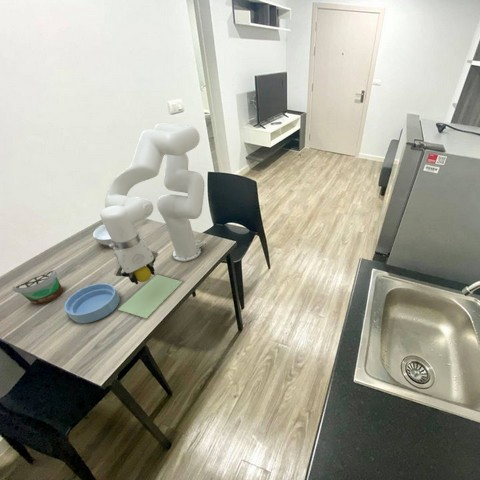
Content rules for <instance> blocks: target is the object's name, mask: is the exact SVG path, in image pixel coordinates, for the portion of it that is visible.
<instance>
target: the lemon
mask: <svg viewBox="0 0 480 480" xmlns="http://www.w3.org/2000/svg"><path fill="white" fill-rule="evenodd" d="M133 275H134V276H135V277H136V279H137V281H138V283H147V282H149V281H150V280H151V277H152V274H151V271H150V269H149V268H148V267H147V266H146V265H145V266H143V267H141V268H139V269H137V270H135V271H133Z"/></svg>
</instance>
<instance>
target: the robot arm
mask: <svg viewBox="0 0 480 480" xmlns="http://www.w3.org/2000/svg"><path fill="white" fill-rule="evenodd" d="M200 139H201V137H200V133H199V131H198V129H197V128H196V127H194V126H193V125H189V124H181V123H173V122H158V123H157V124H155V126H154V128H153V129H152V128H150V129H145V130H143V131H142V132H141V134H140V136H139V139H138V142H137V145H136V148H135V151H134V154H133V157H132V160H131V163H130V165H129V166H128V167H127V168H125V169H124V170H122V171H121V172H120V173H119V174H118V175H116V176H115V178H114V179H113V180H111V183H110V184H109V186H108V189H107V192H106V195H105V199H104V207H105V208H103V209H102V210H101V211H100V213H99V217H100V219H101V222H102V223H103V224H104V225H105V227H106V229H107V231H108V233H109V235H110V237H111V239H112V240H111V241H112V243H111V244H109V246H108V247H109V248H110V249H113V253H114V257H115V260H116V263H117V266H116V268H115V270H114V273H113V274H114V276H116V277H125V278H128V279H129V281H130V283H132V284H133V283H134V284H135V285H138V284H139V281H137V279H136V277H135V276H134V275H133V271H135V270H137V269H139V268H141V267H143V266H147V267H148V268H149V269H150V271H151V276H156V275H155V274H156V273H155V271H156V269H155V267H154V265H155V264H154V263H155V262H156V261H157V258H158V256H159V253H158V252H157V251H153V250H151V248H150V247H149V245H148V244H147V242H146V240H145V239H144V238H143V237H140V234H139V232H138V230H137V227H136V225H135V224H137V223H139V222H141V221H143V220H146V219H147V218H149V217H150V216H151V215H153V212H154V204H153V202H152V201H151V200H150V199H148V198H145V197H140V196H133V195H128V194H129V191H131V189H132V188H133V187H135V186H136V185H137V184H140V183H142V182H145V181H149V180H151V179H154V178H156V177H158V175H159V173H160V170H161V168H162V167H161V166H162V163H163V161H164V157H165V165H164V176H163V185H164V187H165V188H166V190H168V191H171V192H176V193H184V194H187V195H181V194H173V193H167V194H163V195H161V196H159V198H158V199H157V201H156V207H157V210H158V212H159V214H160V216H161V217H162V219H163V220H164V222H165V226H166V228H167V231H168V235H169V238H170V240H171V244H172V246H173V249H174V250H173V252H172V257H173V259H174V260H175V261H178V262H189V261H193V260H195V259H196V258H198V257H199V256H200V255H201V253H202V249H201V247H202V246H205V245H207V241H206V240H203V241H202V240H201V239H198V240H197V241H196V239H195V236H194V231H193V229H192V225H191V221H190V220H197V219H198V218H200V216H201V215H202V211H203V204H204V195H205V179H204V177H203V175H202V174H201V173H200V172H198V171H195V170H189V157H188V154H187V153H188V152H190V151H192V150H193V149H196V147H197V146H198V145H199V143H200Z"/></svg>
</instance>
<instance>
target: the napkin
mask: <svg viewBox="0 0 480 480" xmlns="http://www.w3.org/2000/svg"><path fill="white" fill-rule="evenodd" d="M182 283H183V281H182V280H178V279H175V278H171V277H167V276H165V275H164V276H163V275H159V274H156V275H154V276H153V277H152V278H150V279H149V280H148V281H147V282H146V283H145V285H143V286H142V287H141V288H140V289H139V290H137V292H135V293H134V294H133V295H132V296H131V297H130V298H129V299H127V301H125V302H124V303H123V304H122V305H121V306H119V308H118V309H117V311H121V312H123V313H126V314H130V315H134V316H136V317H140V318H142V319H143V318H144V319H148V318H149V317H150V316H151V315H152V314H153V313H154V312H155V311H156V310H157V309H158V308H159V307H160V306H161V305H162V304H163V303H164V302H165V301H166V299H168V297H170V296H171V294H172V293H174V292H175V290H176V289H177V288H178V287H179V286H180V285H182Z"/></svg>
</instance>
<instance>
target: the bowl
mask: <svg viewBox="0 0 480 480" xmlns="http://www.w3.org/2000/svg"><path fill="white" fill-rule="evenodd" d="M120 302H121V297H120V295H119V293H118V291H117V290H116V288H115V286H114V285H112V284H110V283H105V282H100V283H93V284H90V285H87V286H84V287H82V288H80V289H79V290H77V291H75V292H74V293H73V294H71V295H70V296H69V297H68V299H67V300H66V301H65V302H64V306H63V309H64V311H65V313H66V314H67V316H69V318H70V320H71V321H73V322H75V323H78V324H86V323H87V324H89V323H92V322H97V321H99V320H101V319H103V318H105V317H107V316H108V315H110V314H111V313H113V312H114V311H115V310H116V308H118V306H119V305H120Z"/></svg>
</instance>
